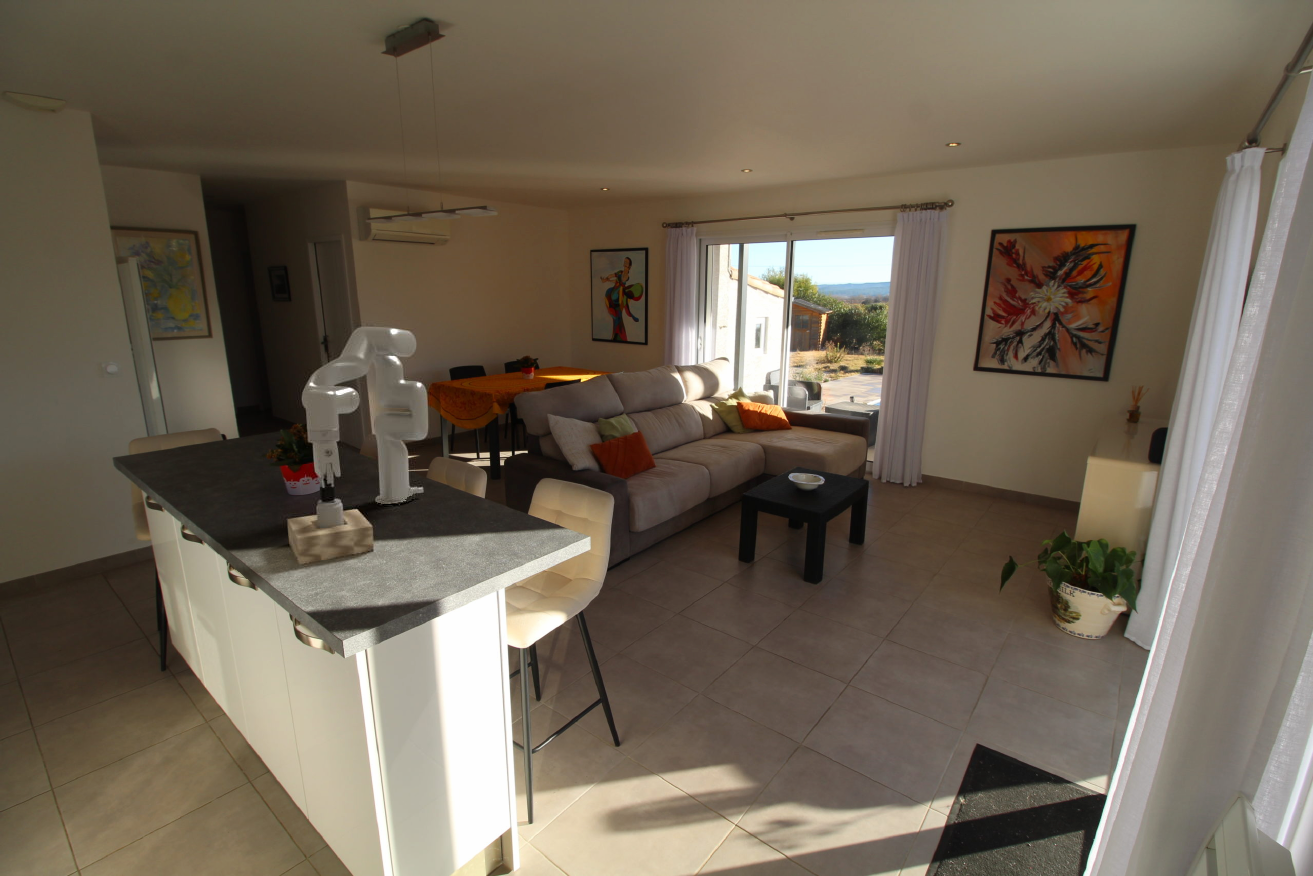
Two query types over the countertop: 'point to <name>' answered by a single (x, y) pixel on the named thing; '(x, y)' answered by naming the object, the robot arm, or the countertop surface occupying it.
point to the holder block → (329, 537)
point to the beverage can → (329, 514)
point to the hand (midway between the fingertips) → (327, 500)
